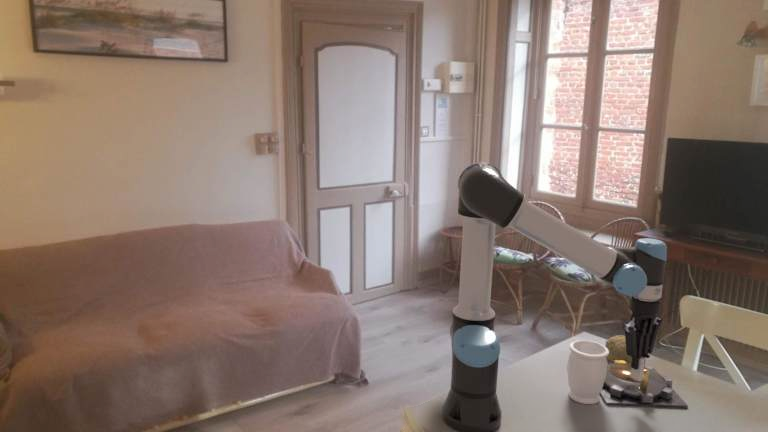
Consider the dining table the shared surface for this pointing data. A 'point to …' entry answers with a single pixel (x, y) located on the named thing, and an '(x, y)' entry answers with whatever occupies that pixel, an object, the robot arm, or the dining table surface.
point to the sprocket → (637, 383)
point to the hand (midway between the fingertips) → (636, 378)
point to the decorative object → (617, 349)
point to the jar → (586, 370)
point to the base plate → (628, 401)
